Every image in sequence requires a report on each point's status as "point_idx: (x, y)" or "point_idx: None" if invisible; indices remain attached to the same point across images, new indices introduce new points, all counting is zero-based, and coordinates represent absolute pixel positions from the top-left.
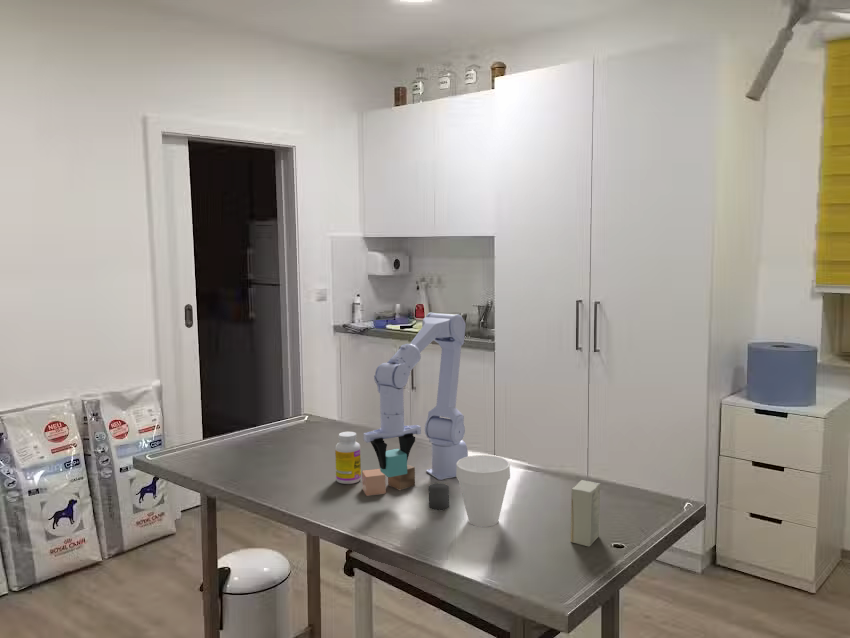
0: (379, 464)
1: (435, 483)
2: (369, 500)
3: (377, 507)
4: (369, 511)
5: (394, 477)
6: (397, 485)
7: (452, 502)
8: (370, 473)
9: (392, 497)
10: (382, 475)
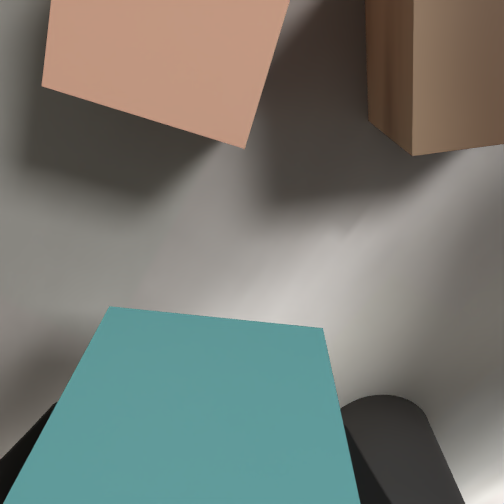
0: (38, 424)
1: (431, 497)
2: (89, 165)
3: (93, 287)
4: (30, 309)
5: (389, 53)
6: (373, 92)
7: (462, 432)
8: (127, 10)
9: (246, 208)
10: (217, 138)
